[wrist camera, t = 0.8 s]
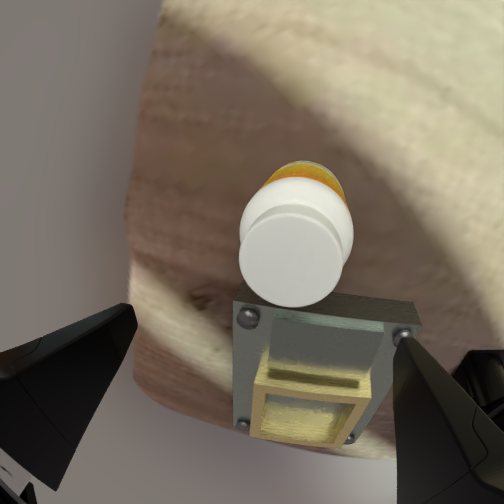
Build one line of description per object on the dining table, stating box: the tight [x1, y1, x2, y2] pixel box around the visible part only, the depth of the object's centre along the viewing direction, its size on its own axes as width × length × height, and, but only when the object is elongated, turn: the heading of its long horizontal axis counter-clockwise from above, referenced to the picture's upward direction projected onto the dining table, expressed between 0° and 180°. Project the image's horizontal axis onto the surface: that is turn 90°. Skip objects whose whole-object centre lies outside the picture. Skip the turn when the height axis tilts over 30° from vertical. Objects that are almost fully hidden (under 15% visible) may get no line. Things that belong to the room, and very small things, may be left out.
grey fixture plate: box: [233, 280, 422, 448], centre depth 24 cm, size 14×18×5 cm
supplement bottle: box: [239, 161, 353, 307], centre depth 15 cm, size 5×5×10 cm
